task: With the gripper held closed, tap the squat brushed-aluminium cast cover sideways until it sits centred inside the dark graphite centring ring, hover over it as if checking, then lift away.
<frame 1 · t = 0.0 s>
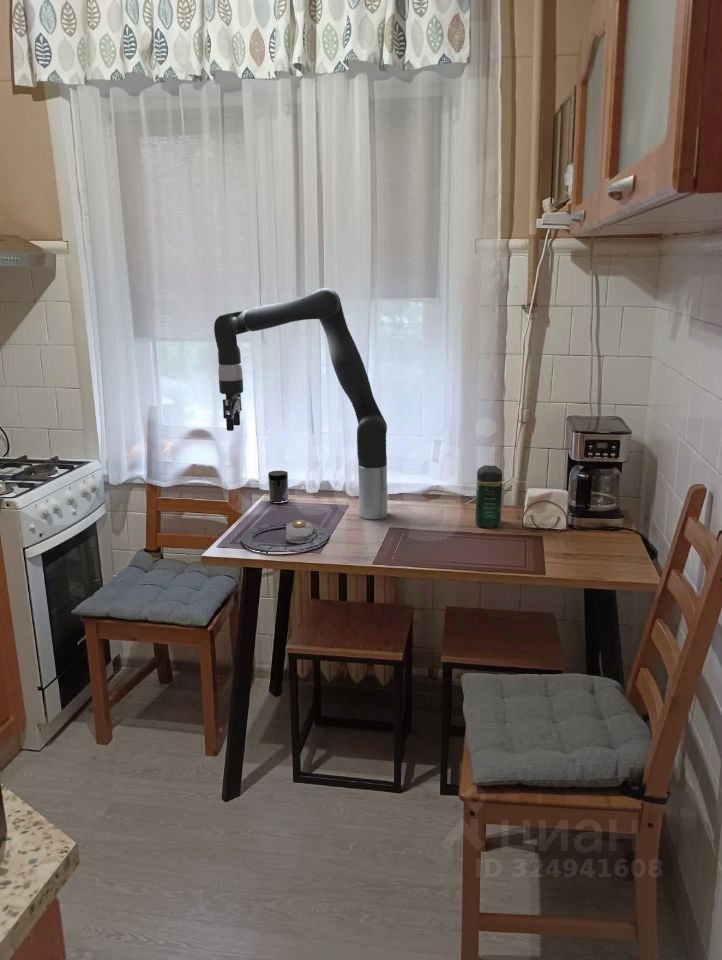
hand: (233, 427, 256), 29 cm above the table, fingers open, 8 cm apart
coffee jar: (488, 524, 250), on the table
cast cover: (299, 539, 239), resting in centring ring
centring ring: (285, 539, 239), on the table
supplement container: (279, 502, 276), on the table
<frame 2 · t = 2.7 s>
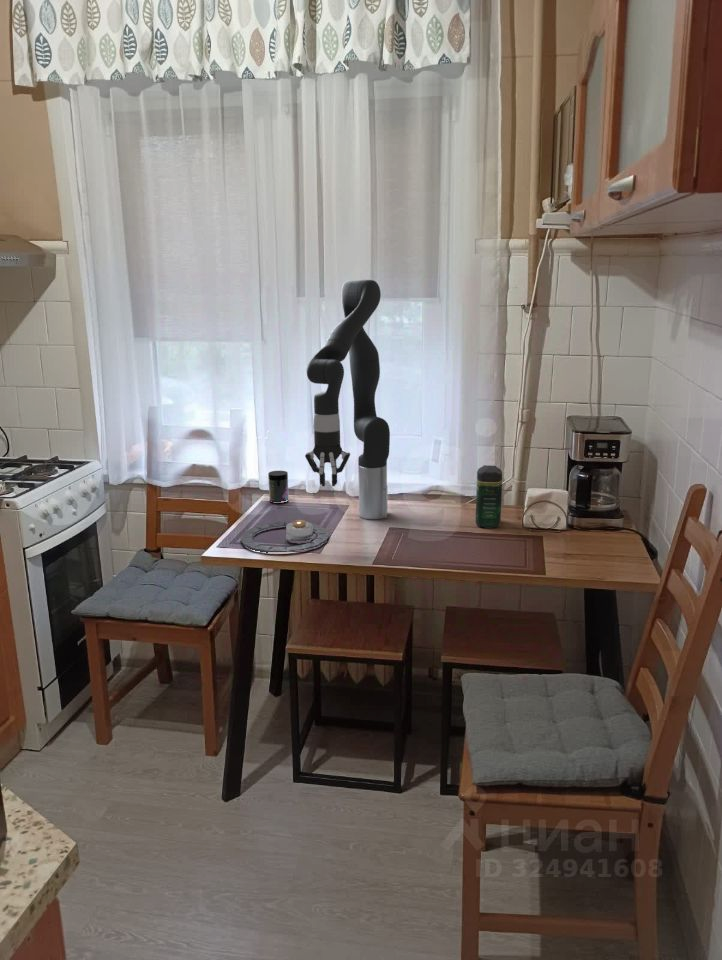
hand: (328, 485, 233), 17 cm above the table, fingers closed
nothing on the table moved.
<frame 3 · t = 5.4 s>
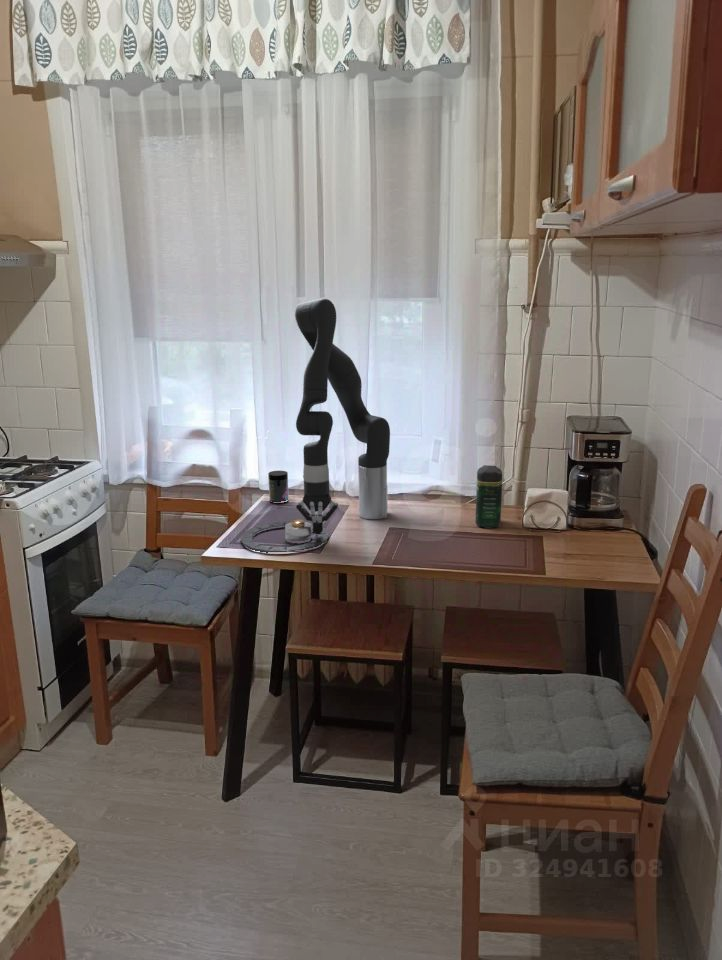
hand: (318, 533, 237), 2 cm above the table, fingers closed
cast cover: (298, 539, 239), resting in centring ring, touching gripper
everything else where it was.
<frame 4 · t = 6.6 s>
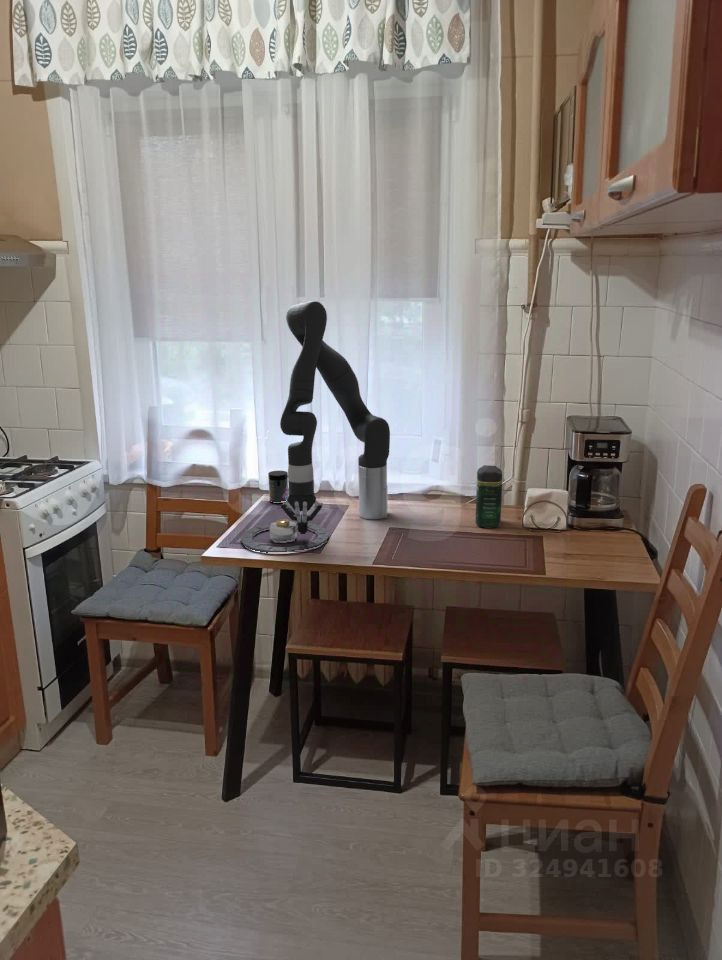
hand: (303, 533, 238), 2 cm above the table, fingers closed
cast cover: (283, 539, 239), resting in centring ring, touching gripper
everything else where it was.
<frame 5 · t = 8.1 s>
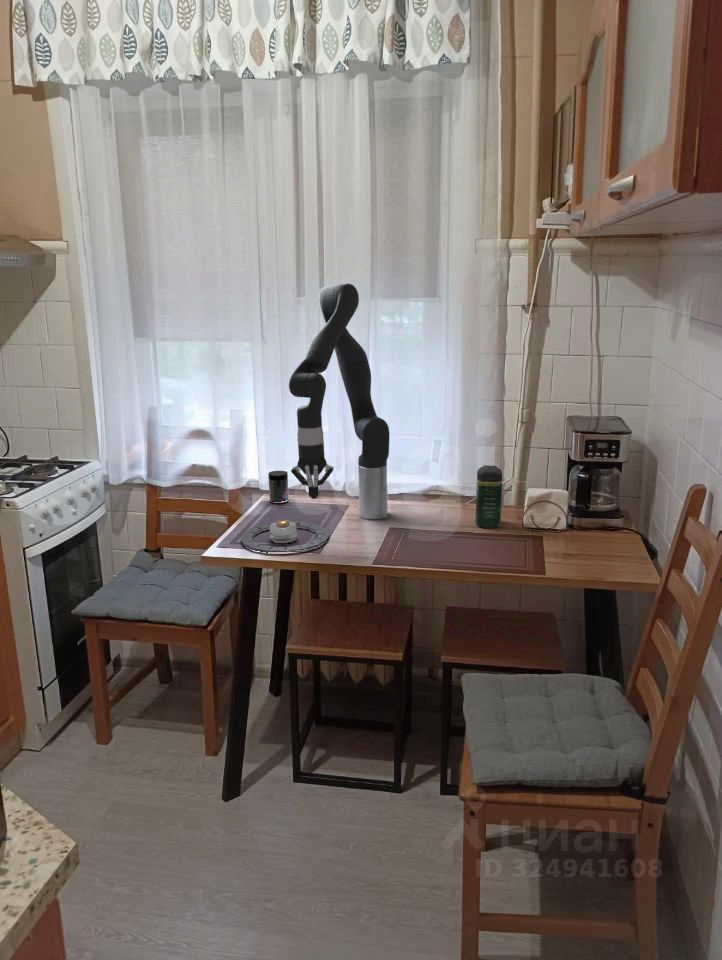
hand: (314, 498, 234), 13 cm above the table, fingers closed
cast cover: (283, 539, 239), resting in centring ring
everything else where it was.
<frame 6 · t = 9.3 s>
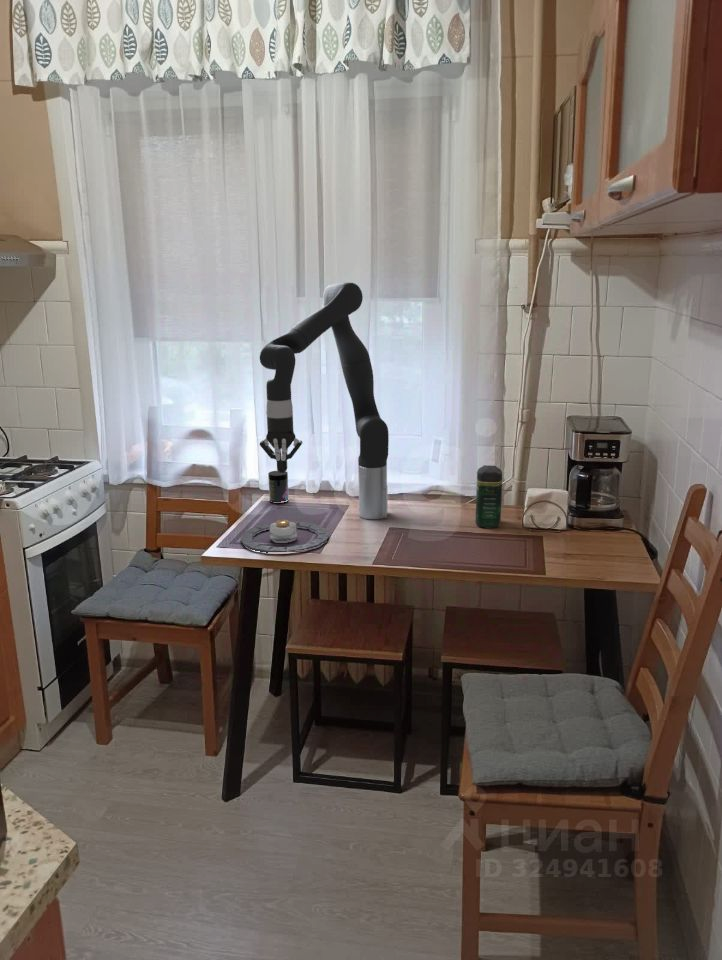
hand: (282, 472, 233), 21 cm above the table, fingers closed
nothing on the table moved.
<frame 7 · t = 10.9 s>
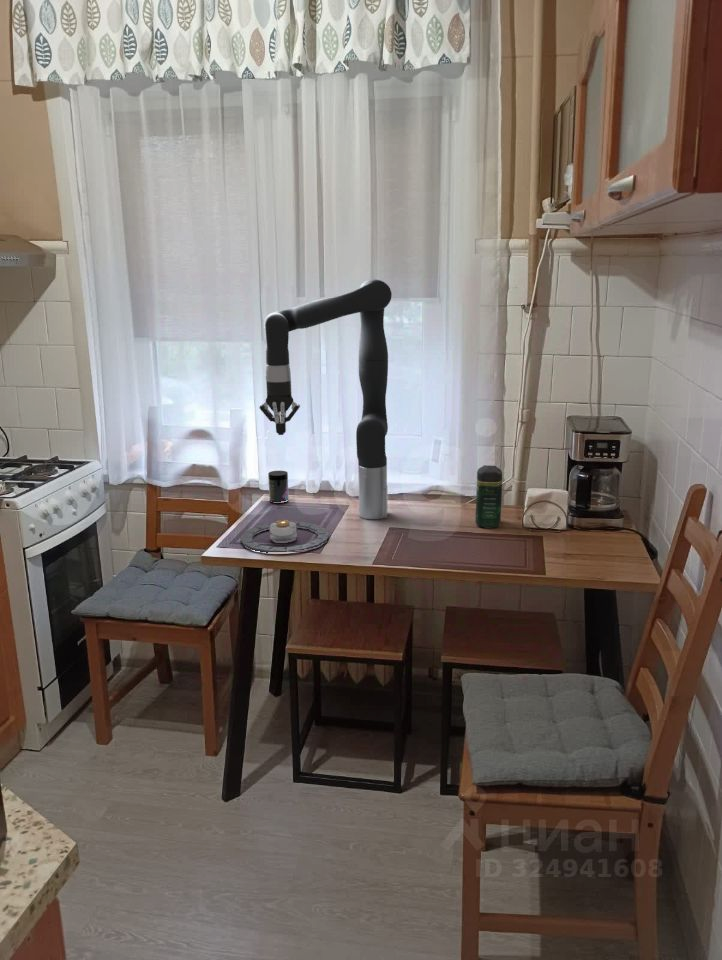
hand: (281, 434, 247), 29 cm above the table, fingers closed
nothing on the table moved.
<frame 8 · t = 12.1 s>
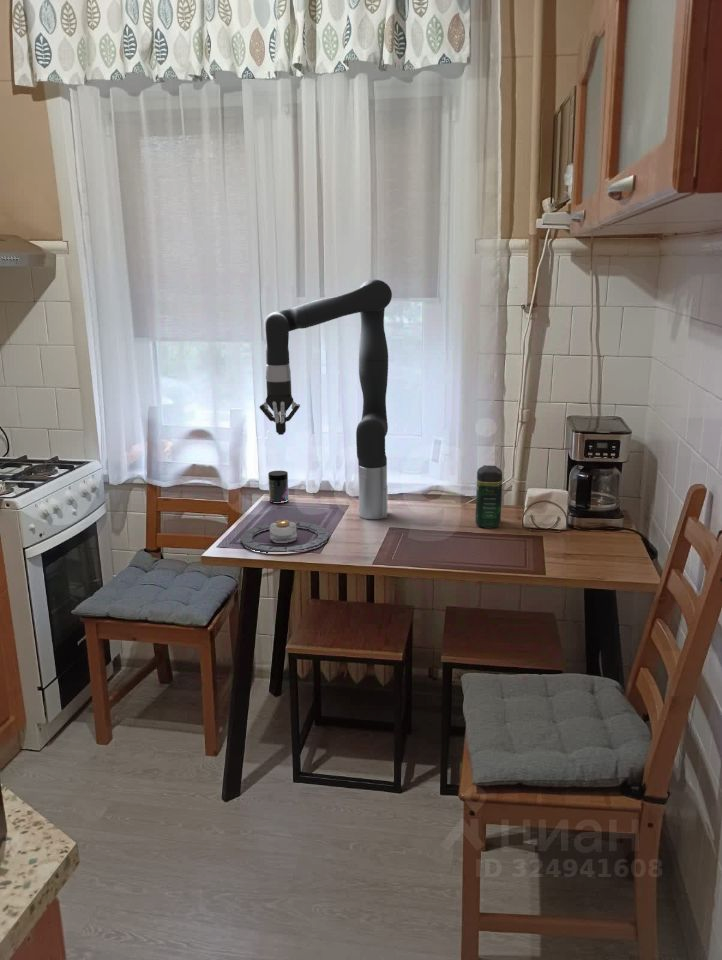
hand: (281, 434, 247), 29 cm above the table, fingers closed
nothing on the table moved.
at the end: cast cover 0.5 cm from the centring ring (horizontally); cast cover tilted 0°; cast cover moved 5.0 cm from its start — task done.
